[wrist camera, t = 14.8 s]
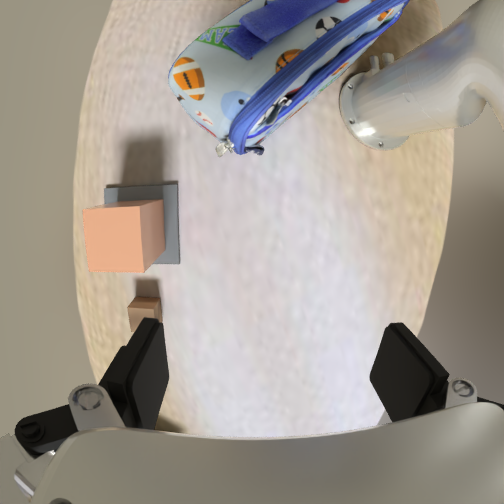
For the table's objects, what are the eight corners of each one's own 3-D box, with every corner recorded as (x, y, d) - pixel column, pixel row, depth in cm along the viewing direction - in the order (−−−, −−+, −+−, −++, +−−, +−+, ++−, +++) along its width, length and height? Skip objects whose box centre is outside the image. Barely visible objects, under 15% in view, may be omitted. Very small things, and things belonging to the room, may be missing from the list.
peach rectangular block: (117, 201, 36) (82, 209, 26) (163, 199, 36) (139, 206, 26) (120, 249, 37) (89, 271, 28) (165, 249, 38) (144, 272, 28)
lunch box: (239, 178, 37) (246, 174, 15) (182, 129, 35) (122, 74, 13) (361, 58, 33) (444, -6, 12) (311, 16, 31) (361, -72, 9)
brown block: (135, 296, 40) (127, 307, 36) (160, 297, 40) (153, 309, 36) (138, 319, 41) (131, 331, 37) (162, 321, 41) (156, 333, 37)
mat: (105, 188, 36) (104, 188, 35) (177, 184, 36) (176, 184, 36) (110, 262, 38) (109, 263, 38) (180, 262, 39) (179, 264, 38)
